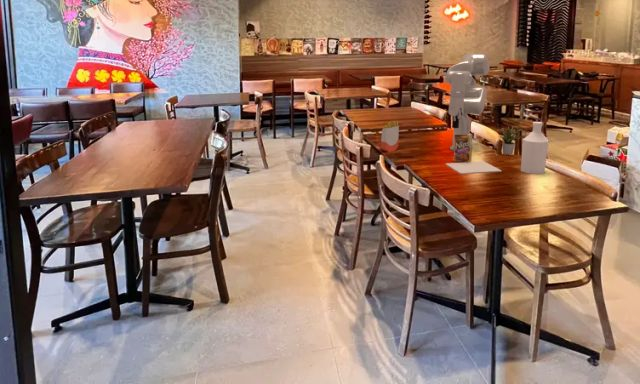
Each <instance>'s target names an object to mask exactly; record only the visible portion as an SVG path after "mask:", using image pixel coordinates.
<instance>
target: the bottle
mask: <svg viewBox="0 0 640 384" xmlns="http://www.w3.org/2000/svg"><path fill="white" fill-rule="evenodd" d="M542 127H543V122H542V121H532V131H531V132H530V133H529V134H527V135H526V136H525V137H524V138H523V141H522V149H521V150H522V151H521V162H520V163H521V165H520V171H521V172H522V173H525V174H533V175H540V174H544V173H545V171H546V163H547V158H548V157H547V156H548V149H549V139H548V138H547V137H546V136H545V134H544V133H543V132H542Z"/></svg>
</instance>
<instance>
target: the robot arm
mask: <svg viewBox="0 0 640 384" xmlns="http://www.w3.org/2000/svg"><path fill="white" fill-rule="evenodd" d="M489 72H490V62H489V59H488V56H487V55H486V54H484V53H467V54H464V55H463V57H462V59H461V61H460V62H459V63H456V64H454V65H451V66H450V67H449V68H448V69H447V71H446V74H445V78H444V79H445V80H444V81H445V83H446V84H448V85H450V97H449V104H448V114H449V115H450V116H451V118H452V119H451V120H452V123H451V124H452V125H451V128H452V129H453V134H452V135H453V137H452V145H451V146H450V147H449V149H450V150H451V151H454V137H455V134H457V133H458V134H471V133H470V132H471V119H470V117H469V115H468V114H471V115H472V114H474V115H480V114H482V113H483V112H484V110H485V106H486V100H487V95H488V90H487V88H486V86H484V85H477V81H476V80H475V79H474V77H473V76H487V75H488V74H489Z"/></svg>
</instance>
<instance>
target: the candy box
mask: <svg viewBox="0 0 640 384" xmlns="http://www.w3.org/2000/svg"><path fill="white" fill-rule="evenodd" d="M472 149H473V133H470V134H458V133H457V134H455V137H454V150H453V162H456V163H464V162H472V154H473V153H472V151H473V150H472Z"/></svg>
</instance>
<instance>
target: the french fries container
mask: <svg viewBox="0 0 640 384" xmlns="http://www.w3.org/2000/svg"><path fill="white" fill-rule="evenodd" d="M399 132H400V127H399V121H393V120H392V121H388V122H387V124H384V126H383V127H382V129H381V139H380V140H381V141H380V144H381V145H380V148H381V149H382V150H383V152H386V153H387V152H389V153H391V152H394V151H396V150H397V149H398V147H399Z"/></svg>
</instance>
